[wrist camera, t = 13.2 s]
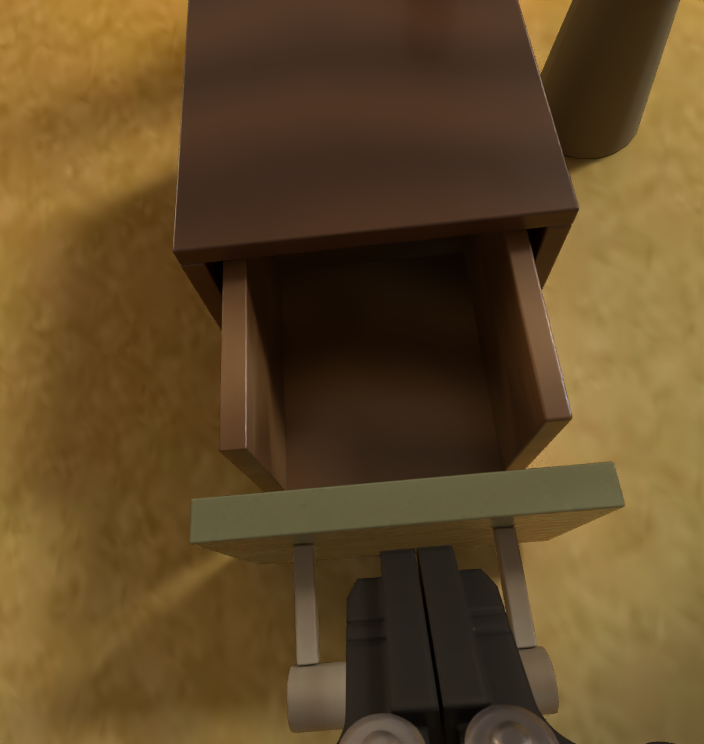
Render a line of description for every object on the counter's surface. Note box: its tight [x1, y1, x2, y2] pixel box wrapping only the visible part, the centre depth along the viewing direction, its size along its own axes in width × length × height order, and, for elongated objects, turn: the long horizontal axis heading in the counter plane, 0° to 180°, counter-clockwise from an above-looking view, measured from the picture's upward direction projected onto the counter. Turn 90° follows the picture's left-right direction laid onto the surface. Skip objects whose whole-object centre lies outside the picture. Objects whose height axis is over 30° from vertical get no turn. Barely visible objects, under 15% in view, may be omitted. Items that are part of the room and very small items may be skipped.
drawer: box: [189, 229, 625, 733], centre depth 20 cm, size 18×11×8 cm, turn 4°
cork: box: [540, 0, 680, 158], centre depth 26 cm, size 6×6×11 cm
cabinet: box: [173, 0, 579, 331], centre depth 24 cm, size 15×13×10 cm
